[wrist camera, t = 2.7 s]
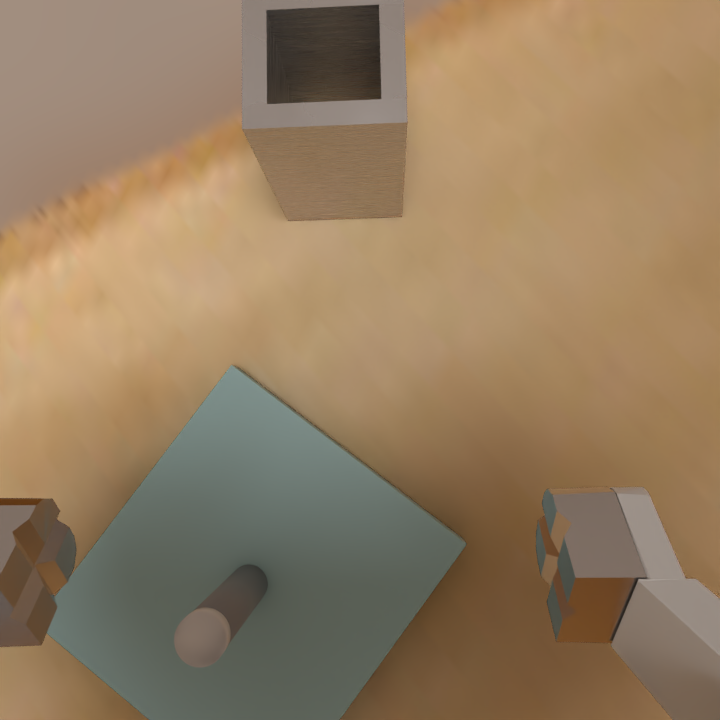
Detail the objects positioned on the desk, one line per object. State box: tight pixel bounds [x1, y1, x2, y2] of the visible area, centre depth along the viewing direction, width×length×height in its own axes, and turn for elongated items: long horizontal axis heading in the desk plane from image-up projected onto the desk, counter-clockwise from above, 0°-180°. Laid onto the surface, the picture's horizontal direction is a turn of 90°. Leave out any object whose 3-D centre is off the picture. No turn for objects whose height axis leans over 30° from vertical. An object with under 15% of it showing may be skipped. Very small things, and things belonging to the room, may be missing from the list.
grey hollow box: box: [242, 0, 407, 221], centre depth 22 cm, size 4×5×8 cm
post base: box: [47, 365, 467, 720], centre depth 21 cm, size 12×11×7 cm
